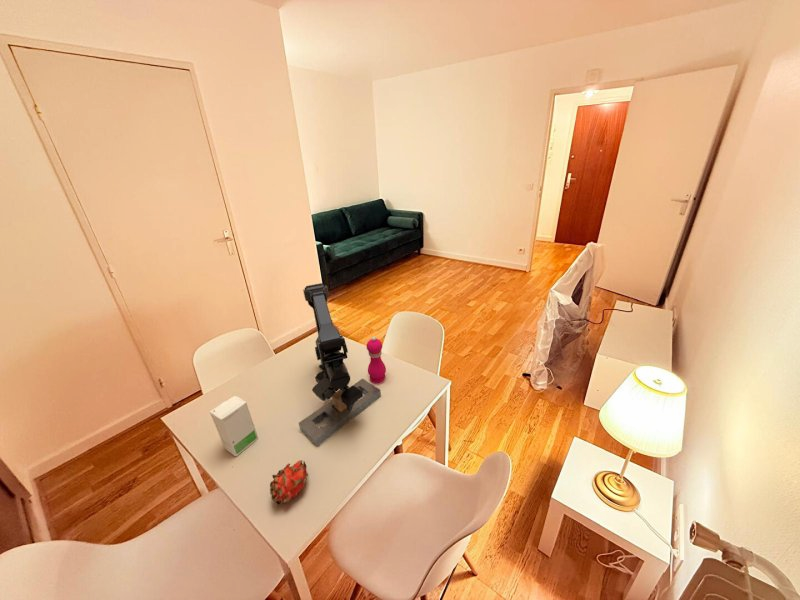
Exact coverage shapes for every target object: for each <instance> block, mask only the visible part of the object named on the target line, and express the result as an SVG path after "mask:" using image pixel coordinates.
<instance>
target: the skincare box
mask: <svg viewBox="0 0 800 600" xmlns="http://www.w3.org/2000/svg"><path fill="white" fill-rule="evenodd" d="M209 414H210V416H211V418H212V421H213V423H214V426H215V428H216V430H217V432H218V435H219V437H220V438H219V439H220V441H221V443H222V446H223V448H224V449H225V450H226V451H228V452H229V453H230V454H232V455H233V456H234V457H238V456H239V455H240V454H241V453H242V452H244V451H245V450H246V449H248V448H249V447H250V446H251V445H253V444H254V443H255V442H256V441H257V440H259V436H258V433H257V430H256V427H255V424H254V422H253V418H252V416H251V415H252V414H251V412H250V409H249V406H248V403H247V401H245V400H243V399H242V398H240V397H238V396H236V395H233V396H232V397H231V398H229V399H227V400H226V401H223V402H221V403H220V404H219V405H218V406H216V407H214V408H213V409H212V410H210V411H209Z"/></svg>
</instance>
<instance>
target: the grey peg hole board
mask: <svg viewBox="0 0 800 600" xmlns="http://www.w3.org/2000/svg"><path fill="white" fill-rule="evenodd" d="M353 385H354V386H356V387H358V388H359V389H361V390H362V392H363V397H361V398H360V399H359V400H357V401H356V402H355V403H354V405H353V408H352V410H351V411H348V409H346V410H345V411H343V412H342V413H341V414H340V413H339V412H338V411H336V410H335V409H334V406H333V401H332V399H330V400H328V402H326V403H325V404H324V405H322V406H321V407H319V408H318V409H316V410H315V411H314V412H312V413H311V414H309V415H308V416H306V417H305V418H303V419H302V420H301V421H299V422H298V427H299V429H300V431H301V433H303V434H304V435H305V436H306V437H307V438H308V439H309V440H310V441H311V442H312V443H313V444H314V445H315V446H316V447H319V446H320V445H321V444H322V443H324V442H325V441H326V440H328V439H329V438H330V437H332V436H333V435H334V434H335V433H337V431H339V430H340V429H342V428H343V427H344V426H345V425H347V424H348V423H349V422H351V421H352V420H353V419H354V418H355V417H356V416H358V415H360V413H362V412H363V411H364V410H365V409H367V408H368V407H369V406H370V405H372V404H373V403H374V402H375V401H376V400H378V399H379V398H381V396H382V394H381V393H382V392H381V389H380V388H379V387H377V386H375V385H373V383H370V382H369V381H367V380H366V379H365V378H361V379H359V380H358V381H357V382H355V383H354V384H353ZM353 385H351V386H353ZM324 419H327V420H328V421H329V422H328V423H326V424H324V426H322V427H319V426H318V424H319V423H321V422H322V421H323V420H324Z"/></svg>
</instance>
